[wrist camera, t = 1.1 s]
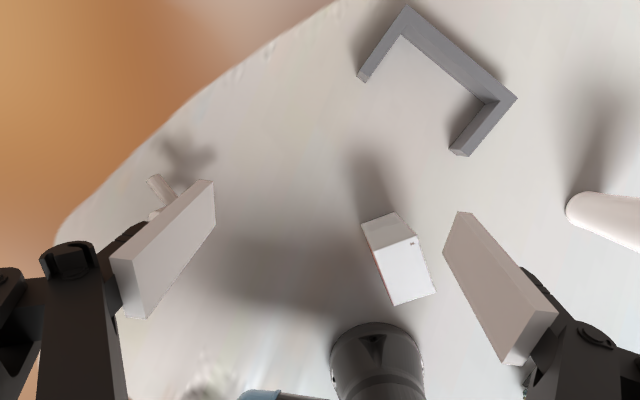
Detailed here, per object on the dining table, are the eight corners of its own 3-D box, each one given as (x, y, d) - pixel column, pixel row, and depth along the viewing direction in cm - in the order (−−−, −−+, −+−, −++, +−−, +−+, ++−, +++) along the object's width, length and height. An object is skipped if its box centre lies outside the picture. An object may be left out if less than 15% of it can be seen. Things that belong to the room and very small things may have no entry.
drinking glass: (615, 197, 41) (775, 230, 27) (586, 237, 43) (723, 289, 28) (576, 177, 41) (718, 199, 26) (548, 218, 42) (668, 260, 27)
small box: (359, 223, 43) (370, 250, 32) (395, 210, 42) (417, 233, 32) (377, 269, 44) (393, 308, 34) (411, 257, 44) (438, 293, 33)
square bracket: (500, 101, 39) (518, 98, 35) (456, 155, 40) (468, 156, 37) (398, 16, 37) (406, 3, 33) (356, 76, 38) (359, 70, 35)
